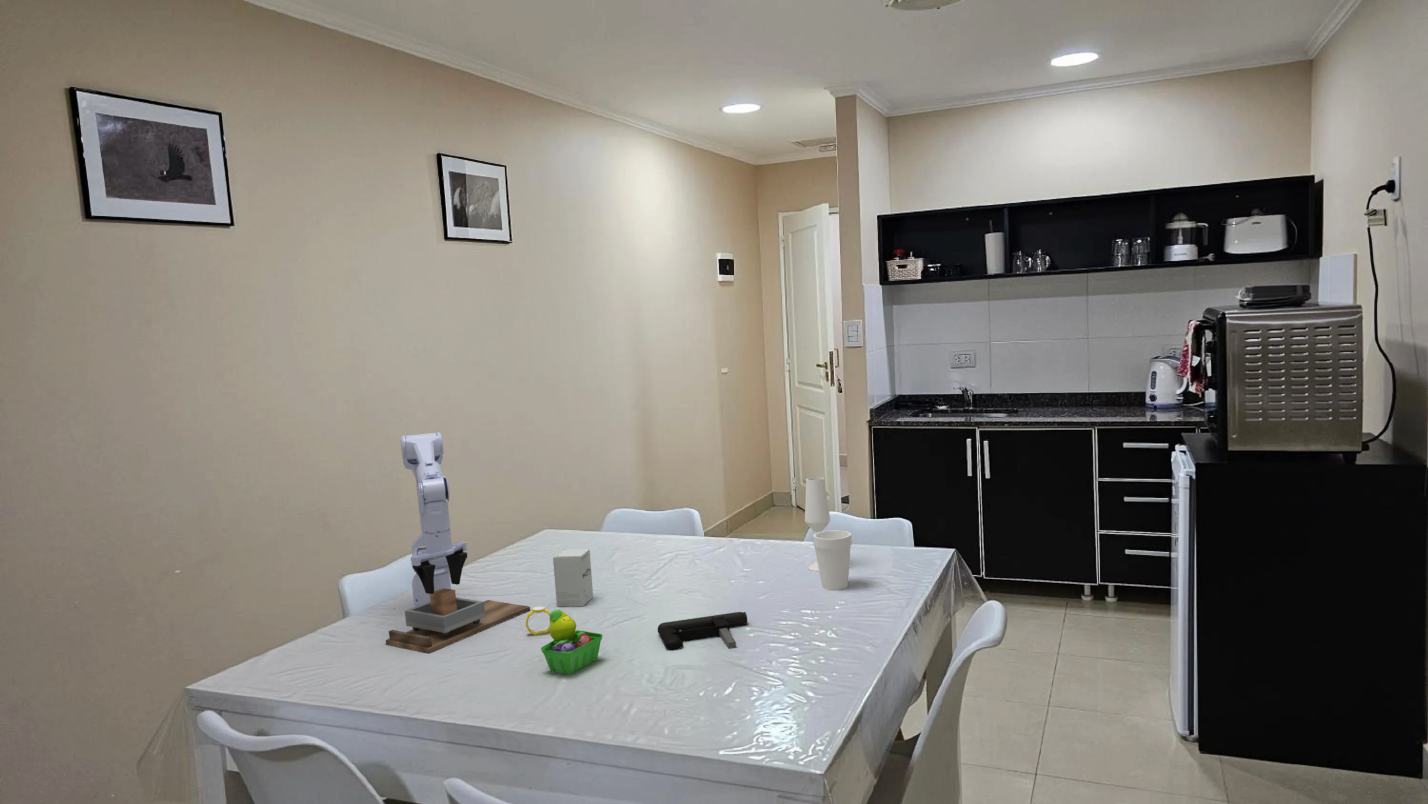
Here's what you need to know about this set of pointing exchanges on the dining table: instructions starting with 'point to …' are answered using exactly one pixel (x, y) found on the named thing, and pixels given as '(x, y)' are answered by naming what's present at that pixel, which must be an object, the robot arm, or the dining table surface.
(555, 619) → the fruit basket
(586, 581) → the supplement box
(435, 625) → the tray
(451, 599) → the part block
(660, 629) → the door handle
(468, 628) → the board
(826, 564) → the foam cup
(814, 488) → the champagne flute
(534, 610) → the watch
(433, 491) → the robot arm
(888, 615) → the dining table surface
